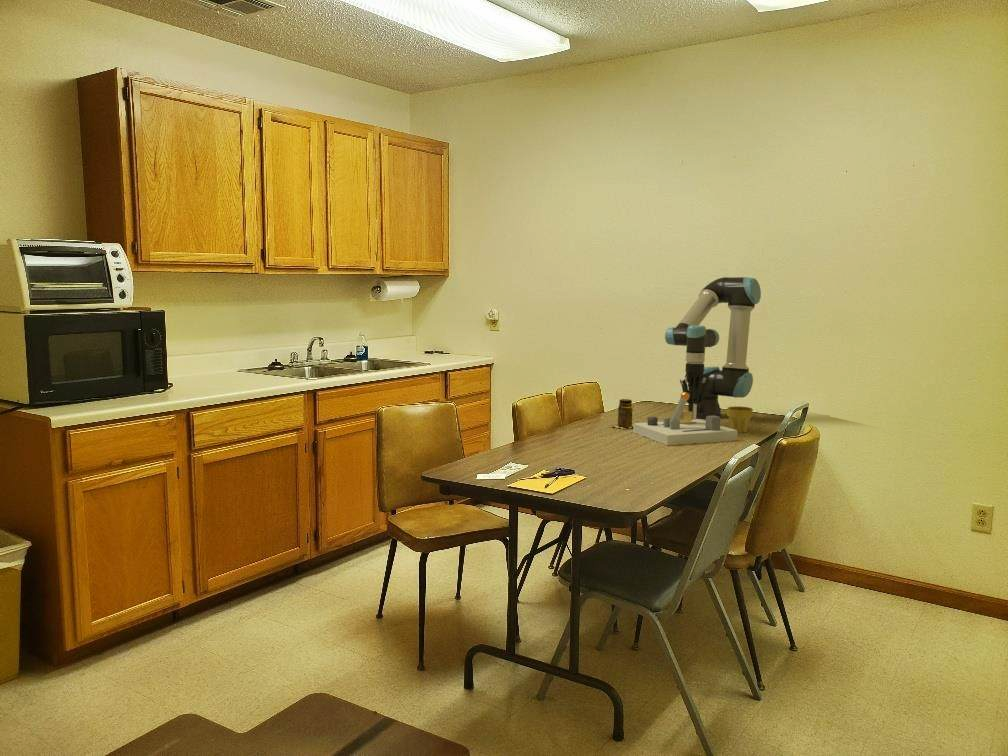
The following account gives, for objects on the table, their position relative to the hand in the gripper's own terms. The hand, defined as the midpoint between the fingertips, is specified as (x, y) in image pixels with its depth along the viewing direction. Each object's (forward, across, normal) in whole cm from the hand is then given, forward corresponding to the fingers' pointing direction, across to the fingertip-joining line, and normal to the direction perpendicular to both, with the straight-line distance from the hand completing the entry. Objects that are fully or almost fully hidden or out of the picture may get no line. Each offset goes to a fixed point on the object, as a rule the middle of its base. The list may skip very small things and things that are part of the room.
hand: (692, 419), depth 322 cm
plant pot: (+6, +20, -4) cm, 22 cm away
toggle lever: (0, -15, -7) cm, 16 cm away
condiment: (+6, -22, +18) cm, 30 cm away
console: (+6, -9, -7) cm, 12 cm away
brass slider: (+1, -4, 0) cm, 4 cm away
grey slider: (+1, -1, -15) cm, 15 cm away
